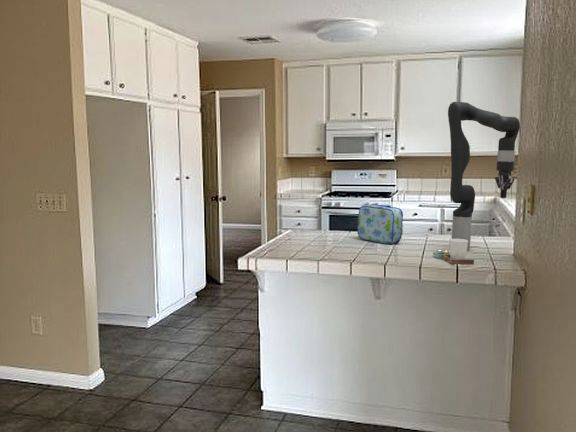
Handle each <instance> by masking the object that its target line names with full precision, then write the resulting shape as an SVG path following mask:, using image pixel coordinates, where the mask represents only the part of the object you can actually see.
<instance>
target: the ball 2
mask: <svg viewBox="0 0 576 432" xmlns="http://www.w3.org/2000/svg"><path fill="white" fill-rule="evenodd" d="M442 251H443V254H449V253H450V250H449V251H448V250H447V249H444V250H442Z"/></svg>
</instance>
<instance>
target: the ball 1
mask: <svg viewBox="0 0 576 432" xmlns="http://www.w3.org/2000/svg"><path fill="white" fill-rule="evenodd" d="M443 251H444V250H442V249H437V250H436V251H435V252H436V253H438V254H443Z"/></svg>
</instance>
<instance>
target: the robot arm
mask: <svg viewBox="0 0 576 432" xmlns="http://www.w3.org/2000/svg"><path fill="white" fill-rule="evenodd" d="M447 118H448V124H449V125H448V126H449V135H450V136H449V138H450V160H451V163H450V164H451V165H450V166H451V167H450V169H451V174H450V175H451V176H450V179H451V180H450V191H449V192H450V194H449V195H450V199H451V202H453V203H454V204H460V205H459V207H457V208H456V209H454V210H453V212H452V223H451V224H452V226H451V227H452V228H451V239H465V240H468V246H467V252H468V251H470V249H471V238H472V237H471V236H472V218H473V217H472V216H473V213H474V208H475V202H476V201H475V200H476V192H475V188H474V186H472V185H469V184H463V178H464V177H463V176H464V173H465V170H466V169H467V167H468V166H469V165H468V164H469V163H470V159H471V149H470V147H471V145H470V143H469V141H468V139H467V137H466V135H465V133H464V131H463V128H462V121H463V122H464V121H473V122H477V123H479V124H480V125H482V126H485V127H486V128H487V127H488V128H491V129H493V130H494V131H496V132H501V133H505V135H504V137H501V138H499V139H498V146H497V147H498V148H497V156H496V168H495V170H496V171H497V172H498V174H497V176H496V177H495V178H494V180H495V183H496V186H497V188H498V189H499V190H500V196H499V197H500V198H501V199H506V198H507V195H508V194H507V193H508V192H507V191H508V190H510V189H511V187H512V186H513V183H514V181H515V178H513V177H512V172H514V170H515V159H516V154H515V151H516V150H515V149H516V148H515V147H516V140H517V138H518V134H519V132H520V128H521V121H520V119H518V117H516V116H504V115H501V114H500V113H496V112H494V111H490V110H484V109H481V108H478V107H476V106H474V105H472V104H470V103H469V102H463V101H453V102H451V103H450V104H449V106H448V108H447Z"/></svg>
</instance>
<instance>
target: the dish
mask: <svg viewBox="0 0 576 432" xmlns="http://www.w3.org/2000/svg"><path fill="white" fill-rule="evenodd" d="M442 255H450V252H449V254H438V253H436V251H433V252H432V256H434V258H435V259H439V260H443V259H442Z"/></svg>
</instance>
